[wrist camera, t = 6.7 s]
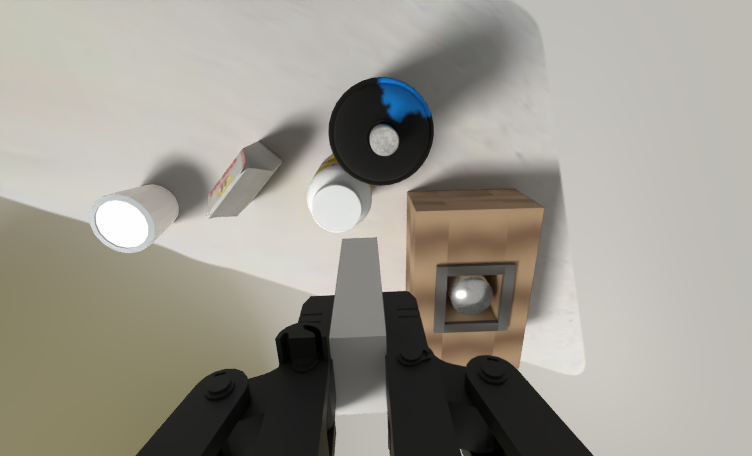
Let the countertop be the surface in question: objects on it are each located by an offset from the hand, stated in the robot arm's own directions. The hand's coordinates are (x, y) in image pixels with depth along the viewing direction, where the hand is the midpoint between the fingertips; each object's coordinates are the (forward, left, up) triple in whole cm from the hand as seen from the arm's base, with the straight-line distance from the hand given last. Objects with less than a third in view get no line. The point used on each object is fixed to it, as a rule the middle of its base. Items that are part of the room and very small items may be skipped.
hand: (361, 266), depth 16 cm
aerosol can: (-4, +2, -30) cm, 31 cm away
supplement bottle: (+3, -2, -30) cm, 31 cm away
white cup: (+6, -26, -30) cm, 41 cm away
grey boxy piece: (+2, -13, -30) cm, 33 cm away
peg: (+16, +13, -30) cm, 36 cm away
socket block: (+16, +13, -30) cm, 36 cm away
